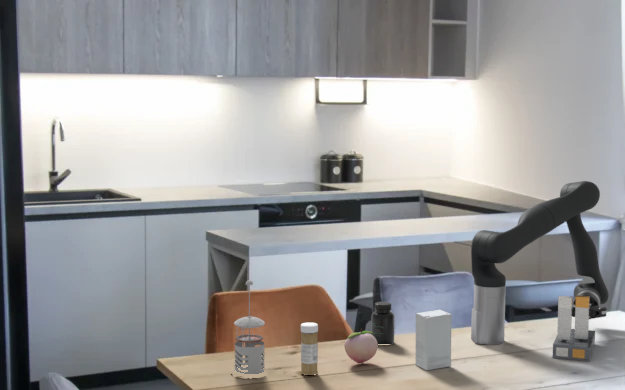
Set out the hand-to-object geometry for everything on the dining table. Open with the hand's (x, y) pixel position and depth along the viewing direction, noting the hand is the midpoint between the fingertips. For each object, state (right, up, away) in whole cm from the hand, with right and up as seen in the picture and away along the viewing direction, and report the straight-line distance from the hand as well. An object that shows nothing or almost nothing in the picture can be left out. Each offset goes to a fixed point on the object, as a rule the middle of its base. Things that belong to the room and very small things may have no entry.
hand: (582, 316), depth 264 cm
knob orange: (0, -6, 0) cm, 6 cm away
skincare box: (-44, -12, -13) cm, 48 cm away
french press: (-94, -12, -20) cm, 97 cm away
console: (-1, -10, +3) cm, 11 cm away
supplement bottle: (-56, -10, +11) cm, 58 cm away
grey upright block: (-5, -6, -1) cm, 8 cm away
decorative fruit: (-63, -12, -11) cm, 65 cm away
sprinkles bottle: (-78, -13, -21) cm, 81 cm away
